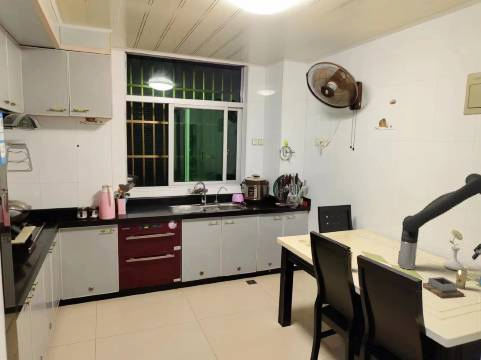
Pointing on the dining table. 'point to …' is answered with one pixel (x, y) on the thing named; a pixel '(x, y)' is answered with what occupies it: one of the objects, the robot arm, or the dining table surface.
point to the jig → (442, 287)
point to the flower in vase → (454, 253)
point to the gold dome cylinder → (461, 278)
